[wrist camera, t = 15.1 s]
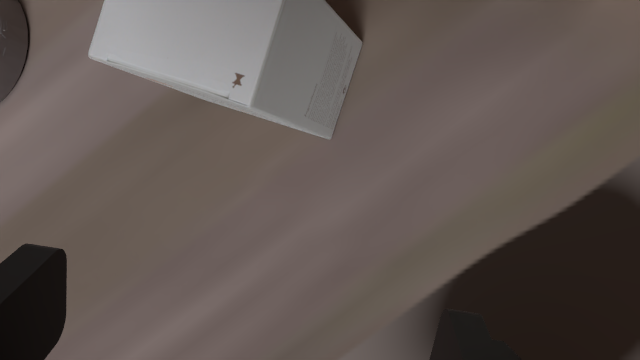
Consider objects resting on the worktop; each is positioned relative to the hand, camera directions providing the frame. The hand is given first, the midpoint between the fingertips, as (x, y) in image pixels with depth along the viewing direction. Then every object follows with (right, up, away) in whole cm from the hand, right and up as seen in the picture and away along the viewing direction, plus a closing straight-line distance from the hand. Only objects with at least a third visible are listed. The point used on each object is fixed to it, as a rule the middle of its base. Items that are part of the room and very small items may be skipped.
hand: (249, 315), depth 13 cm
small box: (0, +9, +21) cm, 22 cm away
